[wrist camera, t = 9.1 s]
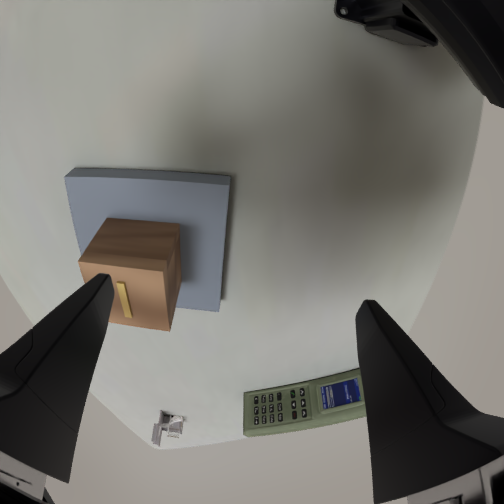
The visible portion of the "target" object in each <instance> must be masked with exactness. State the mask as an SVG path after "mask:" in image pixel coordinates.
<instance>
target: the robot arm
mask: <svg viewBox="0 0 504 504" xmlns="http://www.w3.org/2000/svg"><path fill="white" fill-rule="evenodd" d="M340 8H344V9H345V10H346V14H345V15H343V14H341V12H340ZM334 13H335V15H336V16H337V17H339V18H341V19H345V20H348V21H352V22H355V23H359V24H362V25H365V29H366V30H367V31H368V32H370V33H373V34H376V35H379V36H382V37H385V38H388V39H391V40H393V41H396V42H399V43H401V44H410V45H419V46H424V47H426V46H433V47H434V46H436V45H438V41H440V42H441V43H442V44H443V46H444V47H445V48H446V49H447V50H448V52H449V53H450V54H451V55H452V56H453V58H454V59H455V60H456V62H457V63H458V64H459V65H460V67H461V68H462V69H463V71H464V72H465V73H466V75H467V76H468V77H469V79H470V80H471V82H472V83H473V85H474V86H475V87H476V88H477V89H478V90H479V91H480V92H481V93H482V94H483V95H484V96H486V97H487V99H488V100H489V102H490V103H491V104H494V105H496V106H499V107H501V108H504V0H335V7H334ZM114 295H115V291H114V287H113V283H112V279H111V276H110V275H109V274H105V273H98V274H97V275H96V276H94V277H93V278H92V279H90V280H89V281H88V282H87V283H85V284H84V285H83V286H82V287H80V288H79V289H78V290H77V291H75V292H74V293H73V294H72V295H70V296H69V297H68V298H67V299H66V300H64V301H63V302H62V303H61V304H60V305H58V306H57V307H56V308H55V309H54V310H52V311H51V312H50V313H49V314H48V315H46V316H45V317H44V318H43V319H42V320H41V321H39V322H38V323H37V324H36V325H35V326H34V327H33V329H30V330H29V331H28V332H27V333H26V334H25V335H23V336H22V337H21V338H20V339H19V340H18V341H17V342H15V343H14V344H13V345H11V346H10V347H9V348H8V349H6V350H5V351H4V352H2V353H1V354H0V504H55V503H54V502H53V500H52V499H51V497H50V495H49V493H48V492H47V490H46V489H45V487H44V486H45V481H46V476H47V475H49V476H51V477H53V478H56V479H58V480H60V481H63V482H66V483H69V479H70V473H71V467H72V462H73V456H74V451H75V446H76V441H77V437H78V434H77V433H78V431H79V427H80V423H81V418H82V414H83V410H84V406H85V402H86V398H87V395H88V391H89V387H90V384H91V380H92V377H93V373H94V370H95V366H96V363H97V360H98V357H99V353H100V350H101V347H102V344H103V341H104V338H105V334H106V330H107V326H108V322H109V317H110V313H111V308H112V304H113V300H114ZM355 321H356V335H357V351H358V360H359V367H360V373H361V379H362V386H363V393H364V400H365V408H366V416H367V424H368V433H369V442H370V453H371V466H372V480H373V498H374V504H380V503H384V502H388V501H392V500H396V499H399V498H403V497H406V496H407V500H408V504H504V418H501V417H497V416H493V415H488V414H484V413H482V412H480V411H478V410H477V409H476V408H474V407H473V406H472V405H471V404H470V403H469V402H468V401H467V400H466V399H465V398H464V397H463V396H462V395H461V394H460V393H459V392H458V391H457V390H456V389H455V388H454V387H453V386H452V385H451V384H450V383H449V381H448V380H447V379H446V378H445V377H444V376H443V375H442V374H441V373H440V372H439V370H438V369H437V368H436V367H435V366H434V365H432V362H431V361H430V360H429V359H428V358H427V357H426V355H424V353H423V352H422V351H421V350H420V349H419V347H418V346H417V345H416V344H415V343H414V342H413V341H412V340H411V338H410V337H409V336H408V335H407V334H406V333H405V332H404V331H403V330H402V328H401V327H400V326H399V325H398V324H397V323H396V322H395V321H394V320H393V319H392V318H391V316H390V315H389V314H388V313H387V312H386V311H385V310H384V309H383V308H382V307H381V306H380V305H379V304H378V303H377V302H376V301H375V300H364V301H363V303H362V305H361V306H360V308H359V310H358V312H357V314H356V319H355Z"/></svg>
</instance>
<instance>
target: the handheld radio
mask: <svg viewBox="0 0 504 504" xmlns="http://www.w3.org/2000/svg"><path fill="white" fill-rule="evenodd" d="M362 417H366V408H365V400H364V393H363V386H362V379H361V373H360V368H359V369H356V370H352V371H348V372H344V373H340V374H336V375H332V376H328V377H324V378H320V379H315V380H311V381H306V382H301V383H296V384H291V385H286V386H281V387H275V388H270V389H264V390H258V391H251V392H245V393H244V413H243V435H245V436H247V437H255V436H265V435H272V434H280V433H287V432H294V431H301V430H306V429H312V428H317V427H323V426H327V425H332V424H337V423H341V422H346V421H350V420H354V419H358V418H362Z"/></svg>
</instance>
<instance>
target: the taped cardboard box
mask: <svg viewBox="0 0 504 504" xmlns="http://www.w3.org/2000/svg"><path fill="white" fill-rule="evenodd" d="M78 263H79V267H80V270H81V273H82V276H83V279H84V283H87V282H88V281H89V280H90V279H92V278H93V277H94V276H96V275H97V274H98V273H105V274H109V275H110V276H111V279H112V283H113V287H114V291H115V295H114V300H113V304H112V308H111V313H110V317H109V322H111V323H117V324H123V325H129V326H135V327H142V328H149V329H156V330H163V331H170V329H171V325H172V320H173V316H174V312H175V308H176V303H177V299H178V295H179V291H180V287H181V283H182V279H181V256H180V224H179V223H167V222H156V221H144V220H131V219H118V218H106V219H105V221H104V222H103V224H102V225H101V227H100V228H99V230H98V231H97V233H96V234H95V236H94V237H93V239H92V240H91V242H90V243H89V245H88V246H87V248H86V249H85V251H84V253H83V254H82V256H81V257H80V259H79V261H78Z"/></svg>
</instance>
